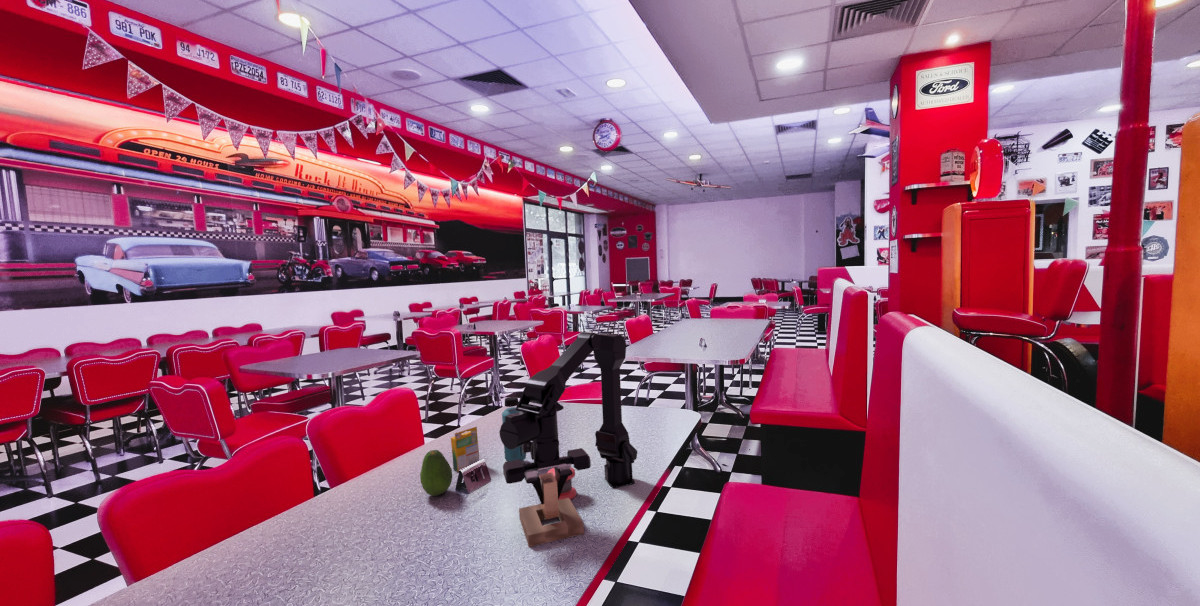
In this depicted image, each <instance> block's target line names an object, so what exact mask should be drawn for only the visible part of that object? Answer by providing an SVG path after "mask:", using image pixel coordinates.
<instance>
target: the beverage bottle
mask: <svg viewBox="0 0 1200 606" xmlns="http://www.w3.org/2000/svg"><path fill="white" fill-rule="evenodd" d="M518 398H519V397H517V396H508V397H506V398H505V399H504V407H505V409H504V410H503V411H502V413H501V416H502V417H501V420H502V424H503V423H504V422H505V416H507V415H510V414H515V413H518V412H520V411H516V407H517V405H518V402H519V399H518ZM506 407H507V408H506ZM503 448H504V449H503V452H504V454H503V455H504V459H505V462H507V461H513V460H518V459H521V461H522V462H523V461H525V460H526V458H527V453H523V452H522V446H519V447H517V448H515V449H508V448H506V447H505V446H504V445H503Z"/></svg>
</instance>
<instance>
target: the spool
mask: <svg viewBox="0 0 1200 606" xmlns="http://www.w3.org/2000/svg"><path fill="white" fill-rule="evenodd" d="M570 469H571V471H572V472H573V474H572V475H570V476H568V478H567V480H566V482H565V484H564V486H563V489H562V492H561V494H560V497H559V500H561V499H566V498H569V499H570V501H572V500H573V499H575V498H576V496H577V489H576V488H575V487H573V485H572V483H573V481H572V480H573V478H574V477H575V475H576V471H575V470H576V469H575V468H574V467H572V466H571V467H570ZM551 472H552V473H553V475H554V477H555V469H554V468H551V469H548V471H547V472H546V473H551Z"/></svg>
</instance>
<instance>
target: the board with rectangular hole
mask: <svg viewBox="0 0 1200 606" xmlns="http://www.w3.org/2000/svg"><path fill="white" fill-rule="evenodd" d="M558 506H559V517H558V520H559V521H557V522H553V523H549V524H544V525H543V524H542V522H541V521H543V520H546V519H545V517H544V514H543V512H542V510H541V503H538V504H533V505H529V506H524V507H519V508H518V513H519V520H520V521H519V522H520V525H521V527H522V530H523V532H524V533H523V534H524V537H525V539H526V543H527V547H528V548H530V547H535V546H538V545H539V546H540V545H544V544H546V543H547V544H548V543H551V542H552V543H553V542H555V541H560V540H564V539H565V540H566V539H568V538H573V537H577V536H580V535H582V536H583V535H584V534H585V529H584V527H585V525H584V521H583V519H582V518H581V517H580V515H579V513H578V510H576V507H575V506H574V504H573V502H572V500H570V499H569V498H566V499H561V500H558Z"/></svg>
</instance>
